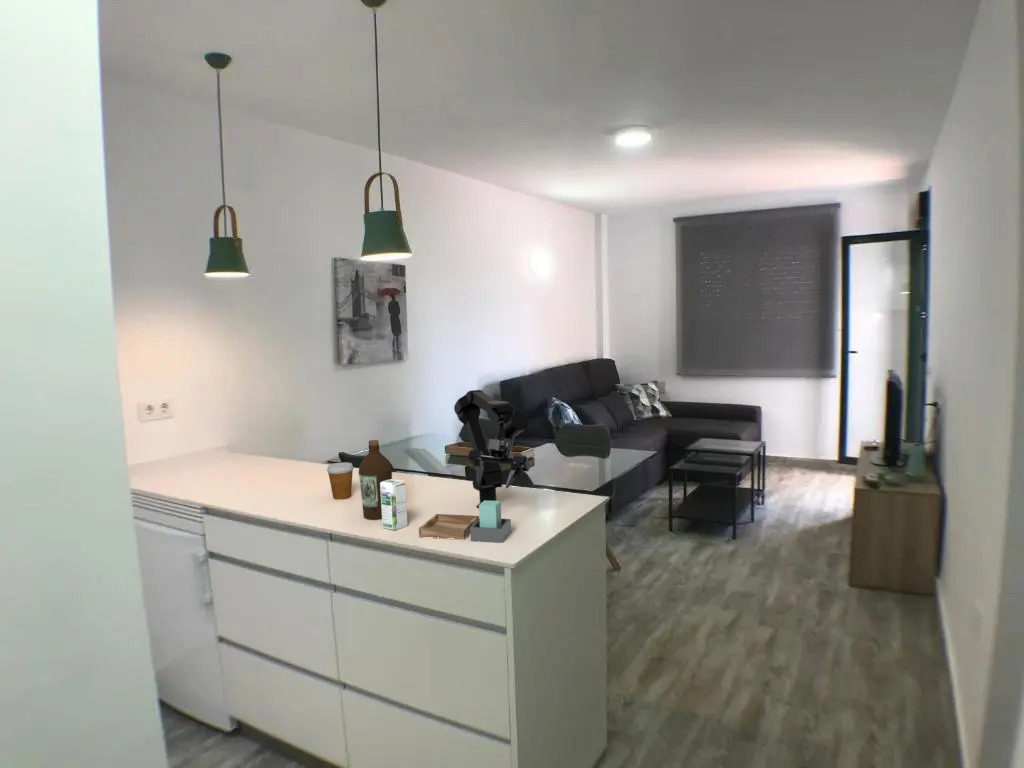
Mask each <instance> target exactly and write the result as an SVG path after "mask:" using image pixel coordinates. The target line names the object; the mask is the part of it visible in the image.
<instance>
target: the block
mask: <svg viewBox="0 0 1024 768" xmlns="http://www.w3.org/2000/svg"><path fill="white" fill-rule="evenodd" d="M501 503H502V502H501V500H497V501H486V500H484V501H483V502H482V503H481V504H480V505H479V508H478V512H479V513H478V516H479V519H480V527H486V528H501V527H502V522H501V519H502V506H501V505H502V504H501Z"/></svg>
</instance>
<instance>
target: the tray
mask: <svg viewBox="0 0 1024 768" xmlns="http://www.w3.org/2000/svg"><path fill="white" fill-rule="evenodd" d="M478 519H480V518H479V515H467V514H464V515H463V514H448V513H447V514H444V513H436V514H435V515H433V516H431V518H429V519H428V520H427V521H425V522H424V523H423V524H422V525H421V526H419V527H418V537H419V538H422V537H433V538H432V539H440V538H454V539H453V540H458V539H464V540H466V538H468V537H469V536H470V527H471V526H472V525H473V524H474V523H475V522H476V521H477V520H478ZM434 537H435V538H434ZM437 537H439V538H437Z"/></svg>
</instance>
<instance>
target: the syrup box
mask: <svg viewBox="0 0 1024 768" xmlns="http://www.w3.org/2000/svg"><path fill="white" fill-rule="evenodd" d="M406 488H407V487H406V480H402V479H401V480H400V479H394V478H392V479H390V480H385V481H383V482H381V483H380V490H381V507H382V519H381V522H382V525H381V526H382V529H387V530H391V531H398V530H400V529H402V528H406V527H407V526H408V508H407V490H406Z"/></svg>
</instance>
